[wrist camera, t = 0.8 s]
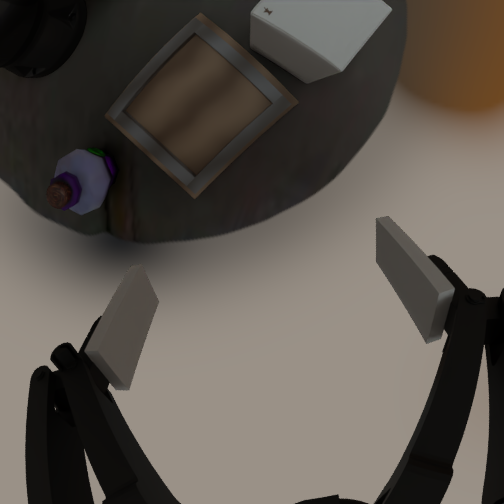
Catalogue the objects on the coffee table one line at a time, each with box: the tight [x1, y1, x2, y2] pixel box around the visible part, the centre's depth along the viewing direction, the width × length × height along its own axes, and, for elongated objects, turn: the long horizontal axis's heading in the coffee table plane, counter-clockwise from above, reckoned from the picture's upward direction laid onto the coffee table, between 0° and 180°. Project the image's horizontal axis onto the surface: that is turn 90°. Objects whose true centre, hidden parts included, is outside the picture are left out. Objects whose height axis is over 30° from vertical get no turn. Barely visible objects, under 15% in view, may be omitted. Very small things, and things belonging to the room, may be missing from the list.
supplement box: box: [250, 0, 392, 84], centre depth 22 cm, size 9×9×15 cm
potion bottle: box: [46, 148, 119, 215], centre depth 31 cm, size 9×9×12 cm
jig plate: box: [104, 13, 299, 199], centre depth 32 cm, size 17×18×3 cm
